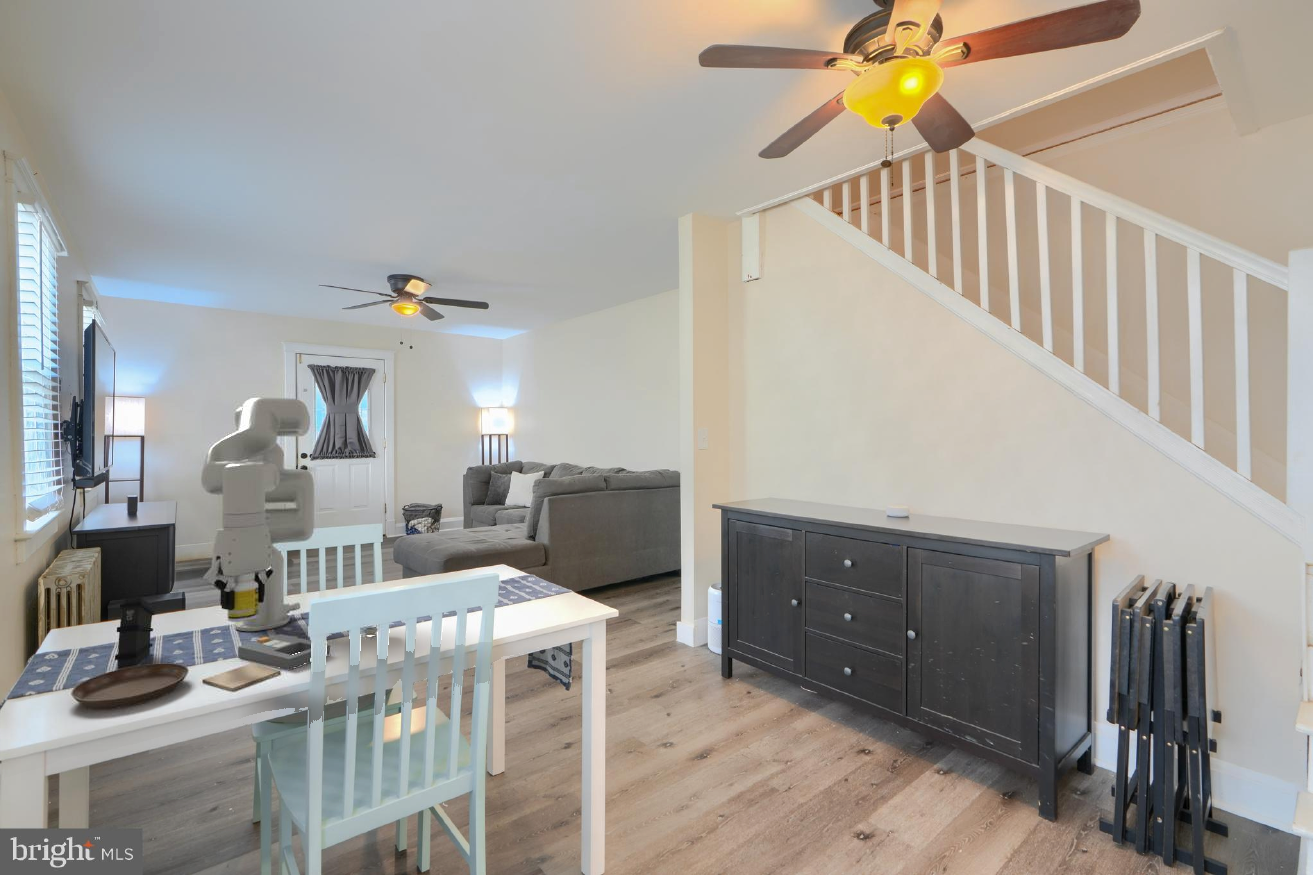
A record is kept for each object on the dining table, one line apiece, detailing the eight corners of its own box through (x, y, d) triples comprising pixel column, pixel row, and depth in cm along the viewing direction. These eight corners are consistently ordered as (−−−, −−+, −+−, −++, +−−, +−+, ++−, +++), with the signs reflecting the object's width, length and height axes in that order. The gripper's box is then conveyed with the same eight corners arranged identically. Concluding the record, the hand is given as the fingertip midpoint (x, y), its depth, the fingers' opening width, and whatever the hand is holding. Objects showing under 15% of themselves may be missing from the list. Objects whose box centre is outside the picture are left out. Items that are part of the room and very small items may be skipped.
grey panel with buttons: (279, 643, 149) (280, 631, 149) (330, 655, 142) (330, 642, 142) (238, 657, 140) (238, 644, 140) (289, 670, 133) (289, 656, 133)
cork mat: (251, 665, 135) (251, 663, 135) (280, 673, 131) (280, 670, 131) (202, 682, 126) (202, 679, 126) (232, 691, 122) (232, 688, 122)
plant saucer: (188, 698, 119) (188, 683, 119) (63, 724, 108) (63, 707, 108) (188, 670, 133) (188, 656, 133) (78, 690, 122) (78, 675, 122)
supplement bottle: (260, 618, 128) (260, 573, 128) (229, 624, 124) (229, 577, 124) (255, 613, 132) (255, 569, 132) (225, 618, 128) (225, 572, 128)
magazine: (109, 669, 128) (120, 598, 134) (128, 675, 139) (138, 609, 144) (132, 666, 130) (142, 596, 135) (149, 672, 140) (158, 608, 146)
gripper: (272, 515, 138) (271, 594, 138) (188, 524, 122) (187, 613, 122) (293, 517, 135) (293, 597, 135) (211, 527, 119) (210, 618, 119)
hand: (243, 604), depth 128 cm, fingers closed on supplement bottle, 5 cm apart
